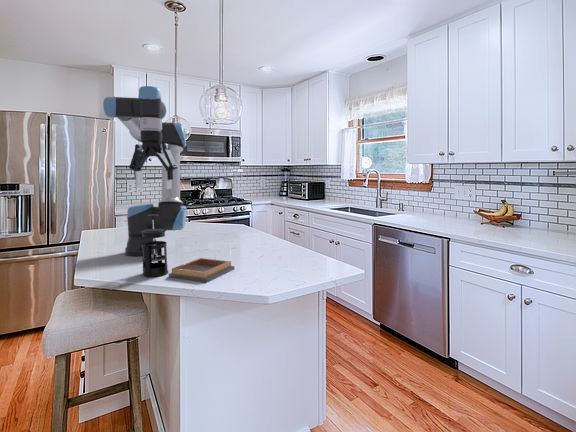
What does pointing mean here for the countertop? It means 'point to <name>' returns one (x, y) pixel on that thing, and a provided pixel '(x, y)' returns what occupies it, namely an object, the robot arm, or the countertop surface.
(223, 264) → the rectangular wooden frame
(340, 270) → the countertop surface
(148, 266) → the french press
